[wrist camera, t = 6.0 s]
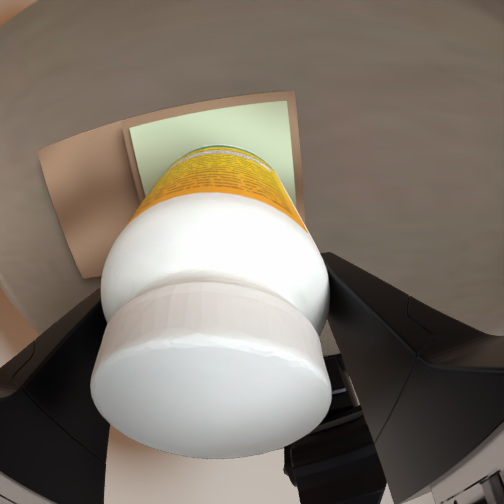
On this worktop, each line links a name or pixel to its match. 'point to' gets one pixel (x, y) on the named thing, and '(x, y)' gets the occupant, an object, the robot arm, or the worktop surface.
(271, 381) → the supplement bottle
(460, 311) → the worktop surface
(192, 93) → the worktop surface
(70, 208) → the step stand
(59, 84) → the worktop surface
